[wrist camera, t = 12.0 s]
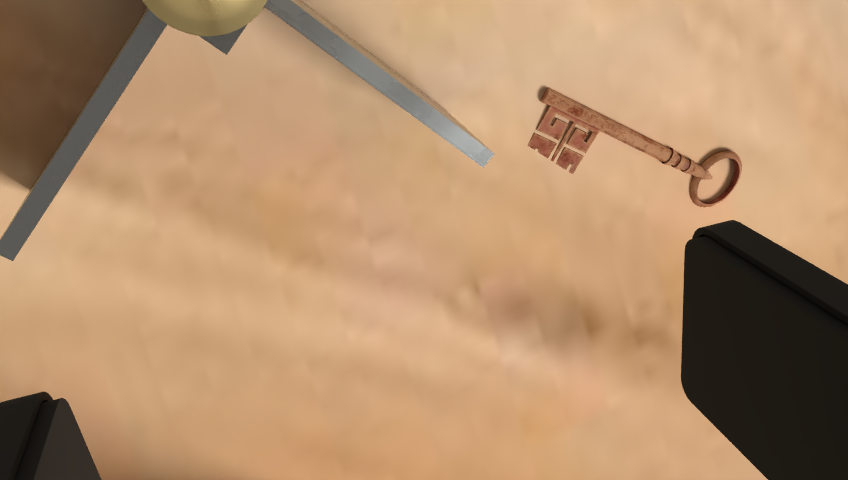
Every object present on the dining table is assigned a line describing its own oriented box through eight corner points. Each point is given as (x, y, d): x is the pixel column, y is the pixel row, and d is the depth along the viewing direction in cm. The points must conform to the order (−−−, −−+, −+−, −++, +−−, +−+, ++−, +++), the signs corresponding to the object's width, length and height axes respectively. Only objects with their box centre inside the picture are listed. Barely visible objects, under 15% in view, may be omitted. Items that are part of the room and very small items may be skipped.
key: (507, 151, 42) (693, 234, 48) (512, 157, 41) (701, 241, 47) (560, 60, 40) (747, 159, 46) (566, 64, 39) (756, 164, 45)
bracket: (290, 324, 42) (305, 402, 36) (-19, 165, 34) (-72, 228, 28) (476, 79, 39) (530, 116, 32) (182, -158, 31) (175, -173, 25)
